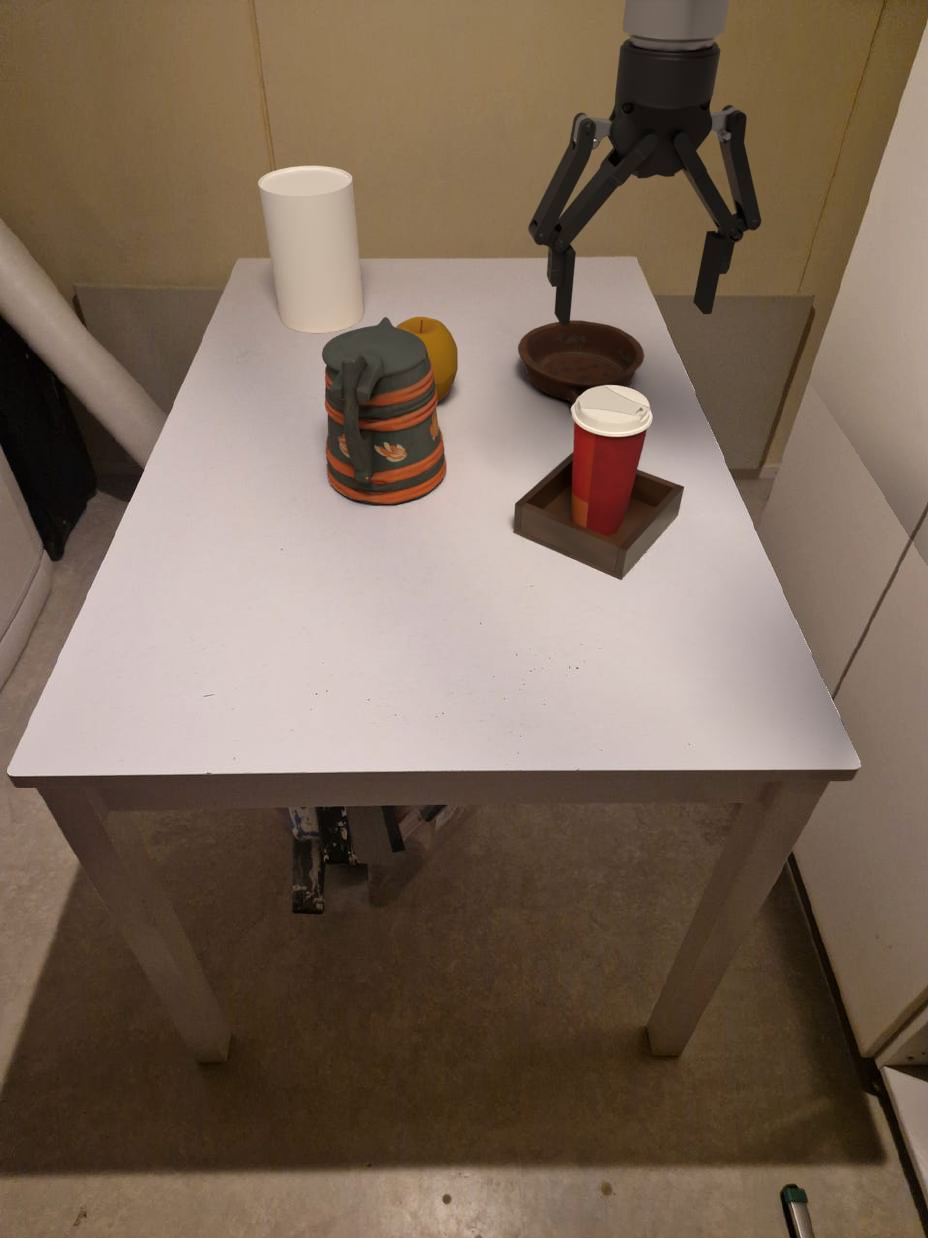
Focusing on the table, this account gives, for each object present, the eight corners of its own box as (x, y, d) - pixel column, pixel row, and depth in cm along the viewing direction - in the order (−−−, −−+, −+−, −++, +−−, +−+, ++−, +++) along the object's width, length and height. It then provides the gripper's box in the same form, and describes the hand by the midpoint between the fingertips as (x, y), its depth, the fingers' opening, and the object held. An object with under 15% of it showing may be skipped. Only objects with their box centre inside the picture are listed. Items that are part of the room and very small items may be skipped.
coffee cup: (645, 512, 95) (667, 395, 85) (614, 551, 90) (634, 432, 80) (579, 490, 98) (593, 374, 88) (547, 526, 93) (557, 408, 83)
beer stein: (434, 535, 93) (429, 372, 79) (307, 527, 94) (279, 365, 80) (452, 442, 107) (449, 289, 93) (340, 437, 108) (321, 284, 94)
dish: (520, 421, 110) (522, 387, 107) (513, 344, 126) (514, 312, 122) (650, 421, 110) (657, 387, 107) (627, 344, 126) (632, 312, 122)
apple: (391, 422, 110) (384, 339, 102) (385, 386, 117) (378, 305, 109) (463, 416, 111) (462, 333, 103) (453, 380, 118) (452, 300, 110)
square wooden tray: (678, 515, 96) (684, 486, 93) (621, 580, 88) (626, 550, 85) (575, 475, 102) (578, 446, 99) (513, 532, 94) (514, 503, 91)
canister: (296, 293, 139) (277, 163, 125) (374, 299, 137) (363, 168, 123) (267, 328, 130) (243, 192, 116) (350, 336, 128) (335, 198, 114)
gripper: (804, 24, 66) (743, 287, 81) (499, 35, 63) (493, 306, 78) (850, 42, 61) (776, 320, 76) (519, 56, 58) (509, 342, 73)
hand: (632, 313), depth 77 cm, fingers open, 13 cm apart
